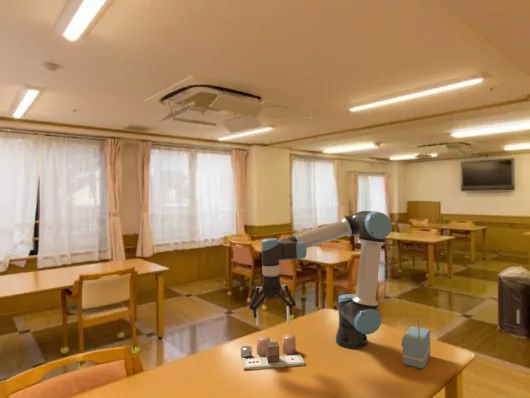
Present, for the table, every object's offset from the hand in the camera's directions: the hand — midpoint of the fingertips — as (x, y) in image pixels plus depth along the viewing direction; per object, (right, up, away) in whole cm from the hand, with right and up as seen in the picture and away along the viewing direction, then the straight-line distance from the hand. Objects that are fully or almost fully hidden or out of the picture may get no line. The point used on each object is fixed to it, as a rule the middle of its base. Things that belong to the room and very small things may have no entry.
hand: (273, 323), depth 149 cm
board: (0, -17, 0) cm, 17 cm away
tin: (-12, -17, +6) cm, 22 cm away
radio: (+61, -16, -1) cm, 64 cm away
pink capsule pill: (-4, -17, +9) cm, 20 cm away
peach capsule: (+8, -17, +11) cm, 22 cm away
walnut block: (0, -16, 0) cm, 16 cm away
